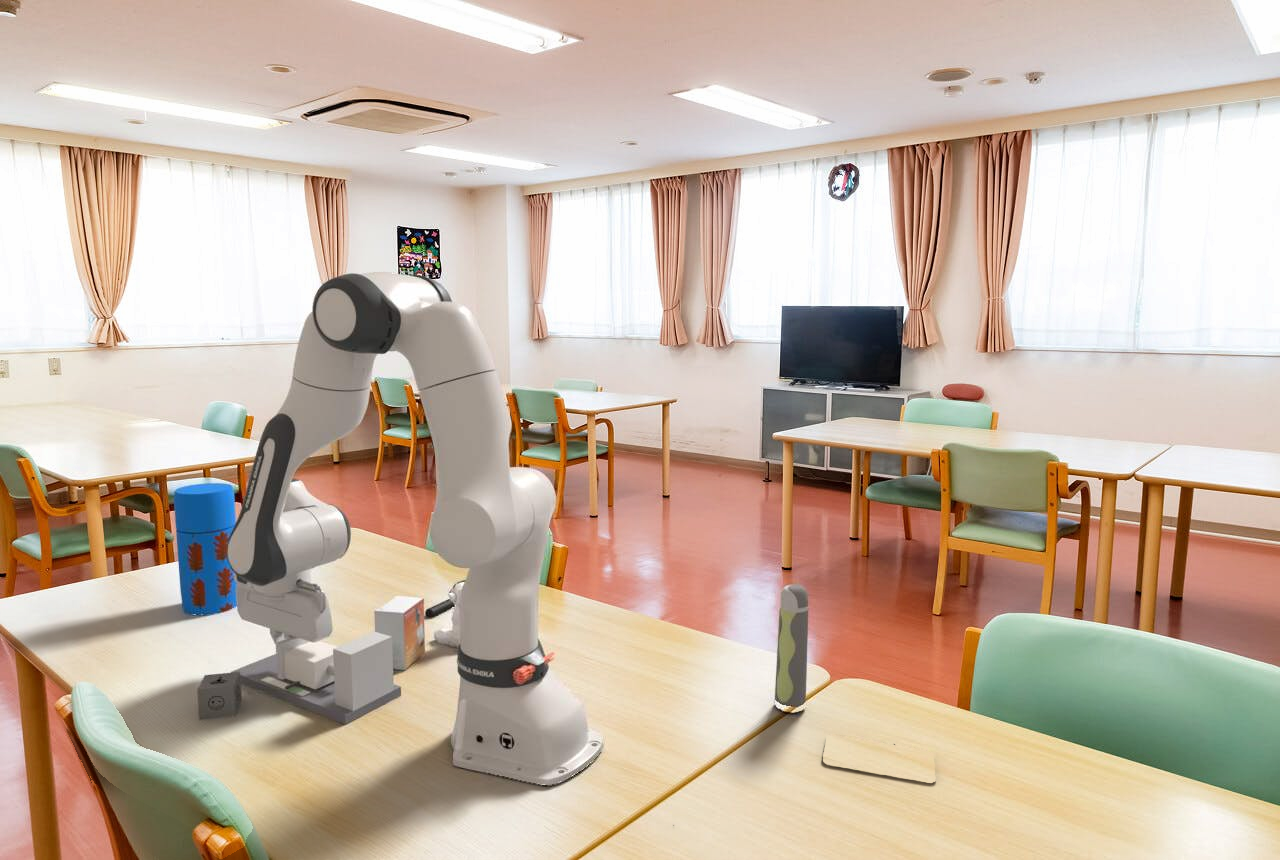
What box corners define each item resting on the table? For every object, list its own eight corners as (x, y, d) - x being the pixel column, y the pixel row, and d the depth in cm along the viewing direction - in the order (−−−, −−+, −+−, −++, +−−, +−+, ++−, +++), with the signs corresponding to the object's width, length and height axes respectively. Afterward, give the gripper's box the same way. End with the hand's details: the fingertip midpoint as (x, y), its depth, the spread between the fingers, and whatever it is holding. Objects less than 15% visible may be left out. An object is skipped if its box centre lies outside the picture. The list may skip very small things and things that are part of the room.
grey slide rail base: (231, 680, 136) (227, 620, 135) (289, 656, 146) (286, 600, 144) (345, 724, 122) (342, 658, 121) (401, 695, 132) (399, 633, 130)
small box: (405, 671, 141) (403, 613, 139) (375, 668, 142) (373, 610, 140) (426, 652, 148) (424, 597, 147) (397, 650, 149) (396, 594, 148)
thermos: (251, 603, 171) (244, 487, 168) (201, 619, 162) (192, 496, 159) (221, 593, 177) (214, 480, 173) (171, 608, 168) (162, 489, 164)
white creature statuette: (479, 629, 159) (478, 570, 158) (497, 644, 152) (496, 583, 150) (432, 639, 154) (431, 578, 152) (448, 656, 147) (447, 592, 145)
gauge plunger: (267, 682, 131) (265, 646, 131) (314, 662, 139) (312, 628, 138) (315, 700, 126) (313, 663, 125) (361, 678, 133) (360, 643, 132)
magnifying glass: (404, 614, 168) (404, 604, 167) (475, 582, 189) (475, 573, 189) (453, 624, 162) (453, 614, 162) (520, 590, 184) (520, 581, 184)
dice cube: (199, 720, 123) (197, 689, 123) (207, 705, 128) (204, 675, 127) (235, 716, 125) (233, 685, 124) (241, 701, 129) (240, 671, 129)
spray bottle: (786, 697, 133) (791, 579, 130) (811, 707, 129) (817, 586, 127) (768, 707, 130) (772, 586, 127) (793, 718, 126) (798, 594, 123)
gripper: (340, 580, 133) (343, 661, 135) (260, 560, 143) (265, 635, 145) (307, 592, 127) (311, 676, 129) (226, 569, 137) (231, 647, 139)
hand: (286, 654), depth 137 cm, fingers closed
